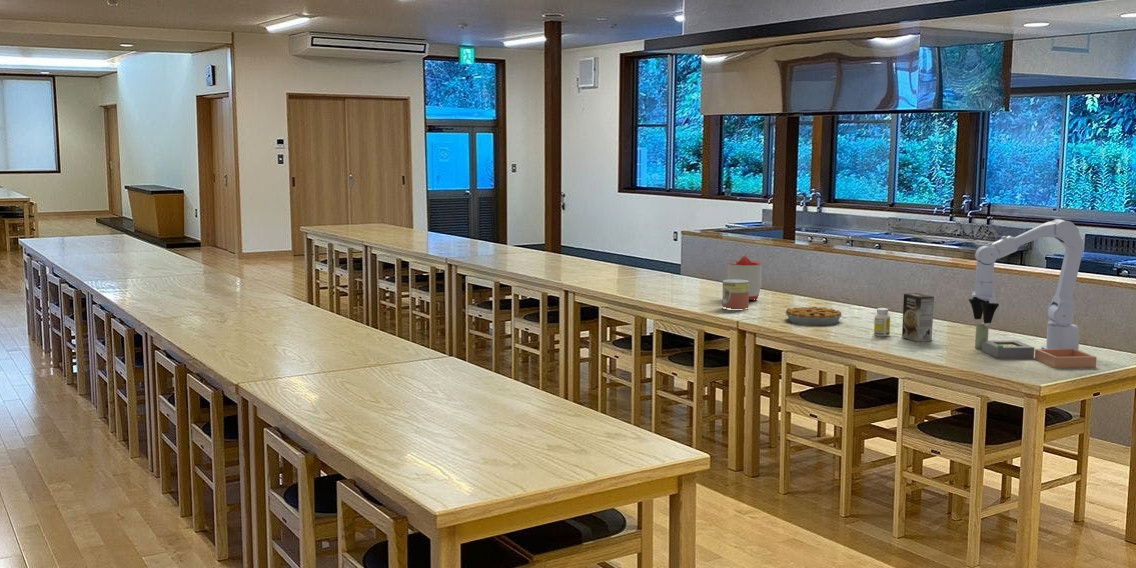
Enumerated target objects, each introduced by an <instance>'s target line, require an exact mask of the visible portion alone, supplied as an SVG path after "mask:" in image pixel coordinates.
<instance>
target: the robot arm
mask: <svg viewBox="0 0 1136 568" xmlns="http://www.w3.org/2000/svg"><path fill="white" fill-rule="evenodd" d="M1044 237H1045V238H1053V239H1056V240H1057V241H1059V242H1060V244H1061V245H1062V246H1063V247H1064V249H1065V252H1064V255H1063V260H1062V265H1061V269H1060V273H1059V277H1058V281H1057V285H1056V291H1055V294H1054V296H1053V297H1052V299H1051V303H1049V305H1048V306H1047V307H1046V316H1047V318H1048V319H1049V320H1047V329H1046V345H1042V346H1040V349H1077V350H1080V349H1079V347H1080V345H1079V344H1080V329H1079V326H1078V325H1076V324H1072V322H1073V321H1074V317H1075V314H1074V310H1073V309H1074V301H1073V296H1074V291H1075V286H1076V282H1077V278H1078V273H1079V270H1080V265H1081V261H1082V257H1083V254H1084V253H1083V252H1084V249H1085V248H1084V245H1085V244H1084V242H1083V240H1082V237H1081V233H1080V229H1079V228H1078V227H1077V226H1076V225H1075V223H1073V222H1072V221H1070V220H1064V219H1061V218H1056V219H1053V220H1052V221H1047V222H1044V223H1042V224H1040V225H1038V226H1036V227H1034V228H1031V229H1029V230H1027V231H1025V232H1022V233H1021V234H1019V235H1017V236H1011V235H1008V236H1006V235H1003V236H1001V237H1000V239H998V240H995V241H993V242H991V241H990V242H988V243H987V245H983V246H982V245H981V246H979V247H978V248H977V250H976V251H975V253H974V258H975V260H976V267H975V281H974V282H975V286H974V291H971V298H969V299H968V302H969V304H970V305H971V309H972V312H973V313H972V314H973V318H974V320H982V318H983V323H985V324H991V323H992V320H993V318H994V315H995V312H996V310H997V308H998V307H999V305H1000V304H999V303H998V302H997V297H996V296H995V295H994V285H995V284H994V282H995V281H994V280H995V263H996V261H997V260H998V259H1001V258H1004V257H1007V256H1009V255H1011V254H1012V253H1016V252H1017V251H1018V249H1019V247H1020V246H1023V245H1025V244H1028V243H1030V242H1033V241H1036V240H1038V239H1041V238H1044Z"/></svg>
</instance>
